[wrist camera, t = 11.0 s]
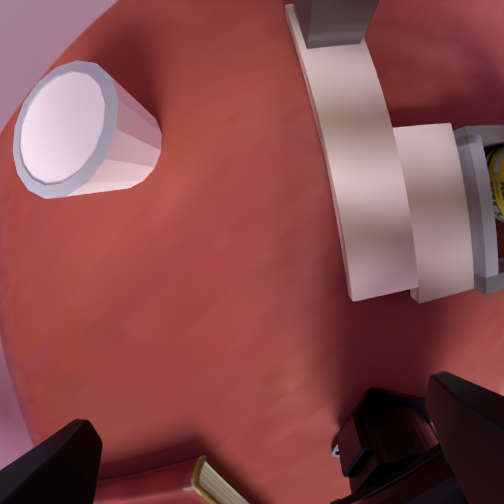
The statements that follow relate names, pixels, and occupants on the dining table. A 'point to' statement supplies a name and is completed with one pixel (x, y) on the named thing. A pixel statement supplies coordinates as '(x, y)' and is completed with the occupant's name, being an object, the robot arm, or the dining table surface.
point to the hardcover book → (169, 486)
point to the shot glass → (83, 134)
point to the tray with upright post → (394, 170)
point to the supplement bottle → (497, 180)
